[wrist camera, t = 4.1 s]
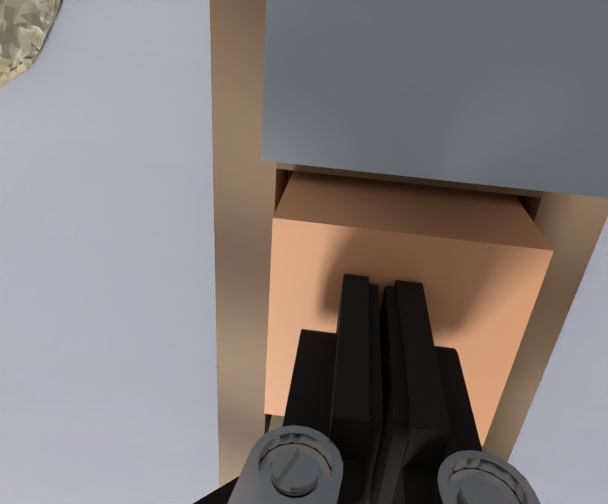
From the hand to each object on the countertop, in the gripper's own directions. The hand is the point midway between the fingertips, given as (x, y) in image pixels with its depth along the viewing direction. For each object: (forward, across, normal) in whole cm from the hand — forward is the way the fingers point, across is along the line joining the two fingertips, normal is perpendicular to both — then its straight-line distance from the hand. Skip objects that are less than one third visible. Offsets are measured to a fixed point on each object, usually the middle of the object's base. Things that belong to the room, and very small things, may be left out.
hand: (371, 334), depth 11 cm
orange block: (+4, 0, 0) cm, 4 cm away
